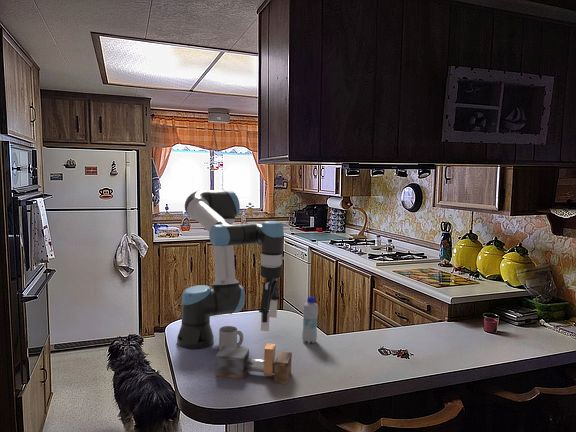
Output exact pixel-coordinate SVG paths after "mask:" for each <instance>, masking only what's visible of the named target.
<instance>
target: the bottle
mask: <svg viewBox="0 0 576 432" xmlns="http://www.w3.org/2000/svg"><path fill="white" fill-rule="evenodd" d="M318 305H319V304H317V303H316V298H315V297H314V296H308V297H307V300H306V302H305V303H304V304H303V308H302V309H303V310H302V315H303V323H302V324H303V325H302V326H303V327H302V341H303V342H304V344H305V343H307V344H308V345H310V344H314V343H316V341H317V339H318V338H317V337H318V333H317V332H318V331H317V330H318V329H317V328H318V327H317V326H318V315H319V306H318Z"/></svg>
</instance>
